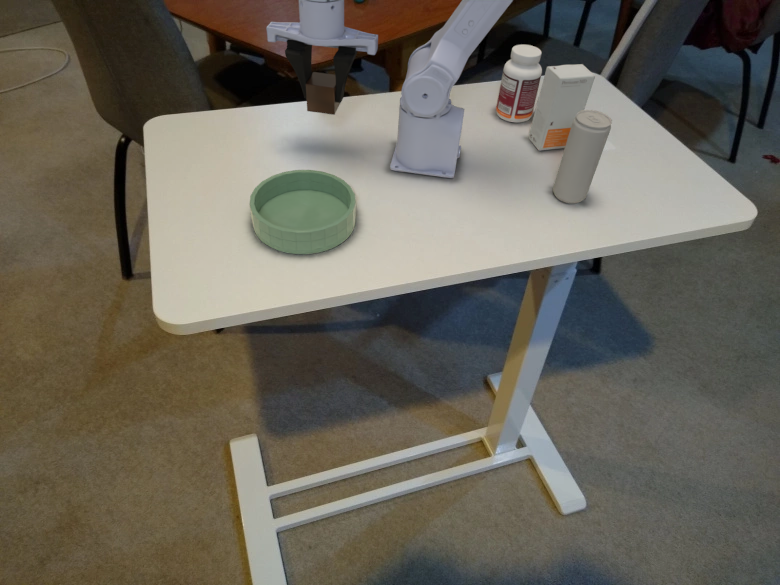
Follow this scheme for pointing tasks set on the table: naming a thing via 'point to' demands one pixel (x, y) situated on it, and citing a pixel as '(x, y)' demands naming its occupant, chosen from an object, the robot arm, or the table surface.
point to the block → (321, 93)
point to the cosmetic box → (559, 104)
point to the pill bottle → (519, 84)
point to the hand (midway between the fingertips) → (324, 97)
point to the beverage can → (581, 155)
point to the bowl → (303, 211)
